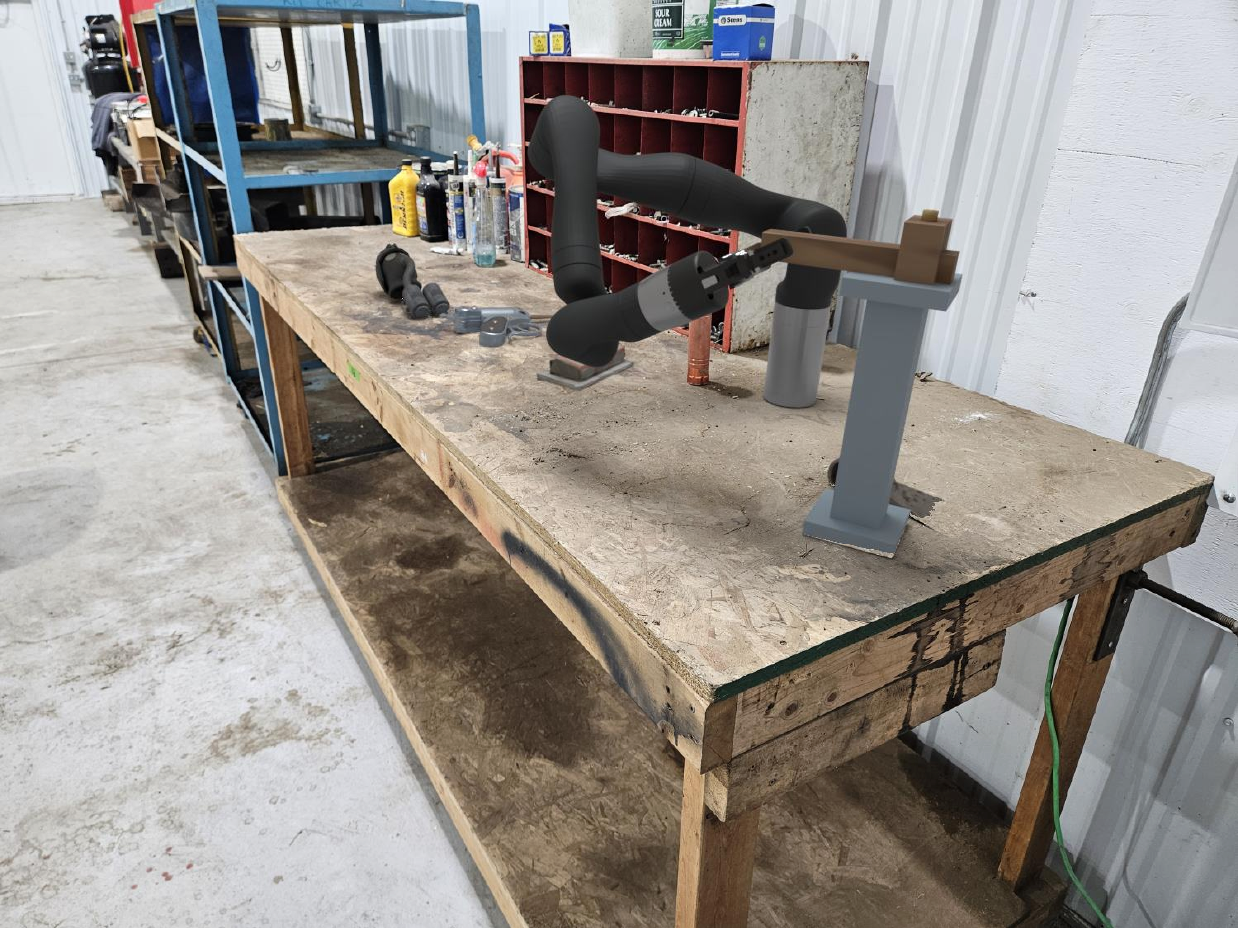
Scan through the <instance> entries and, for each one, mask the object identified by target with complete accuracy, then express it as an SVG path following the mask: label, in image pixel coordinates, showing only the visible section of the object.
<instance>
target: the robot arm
mask: <svg viewBox="0 0 1238 928" xmlns="http://www.w3.org/2000/svg"><path fill="white" fill-rule="evenodd" d="M599 121H600V120H599V118H598V115H597V114H596V112H595V110H594V109H593V108H592V107H591V105H590V104H589V103H587V101H585V100H583V99H582V98H580V97H577V96H575V95H569V94H563V95H558V96H556V97H553V98H552V99H551V100H549V101H548V102H547V104H546V105H544V107H543V109H542V111H541V112H540V114H539V116H538V118H537V121H536V125H535V128H534V130H533V132H532V135H531V138H530V140H529V143H528V146H527V147H528V148H527V157H528V160H529V162H530V164H531V166H532V168H533V169H535V171H536V172H537V173H538V174H539V175H541V176H543V177H544V178H546V179H547V180H550V181H552V182H554V194H553V195H554V197H553V207H552V208H553V209H552V220H551V232H550V255H551V257H550V258H551V269H552V279H553V283H552V284H553V288H554V293H555V294H556V295H557V297H558V299H560V300H561V301H562V302H563V303H564V304H566V305H564V306H562V307H561V308H560V309H558V310H556V312H555V313H554V314H552V315H553V316H552V318H549V322H548V323H547V326H546V331H545V337H546V341H547V344H548V346H549V347H550V348H549V349H551V350H552V352H554V353H555V354H557V355H560V356H562V357H565V358H567V359H570V360H573V361H576V362H579V363H581V364H584V365H587V366H590V367H602V366H605V365H607V364H608V363H609V362H610V361H611V360H612V359H613V358H614V356H615V355H616V352H617V350H618V346H619V343H620V342H624V343H638V342H641V341H644V340H646V339H649V338H650V337H653V336H656V335H659V334H660V333H662V332H665V331H668V330H673V329H675V328H679V327H682V326H684V325H687V324H689V323H691V322H694V321H696V320H699V319H701V318H704V317H705V316H709V315H710V314H712V313H716V312H719V311H720V310H722V309H724V308H725V307H726V306H727V304H728V303H729V298H730V291H731V290H733V289H735V288H737V287H740V286H742V285H743V284H745V283H748V282H750V280H751V279H754V278H755V276H757V275H759V274H761V273H763V272H766V271H768V270H769V269H771V267H772V265H774V264H776V263H780V262H779V261H781V260H783V259H785V258H788V257H790V256H791V255H792V254H793V249H792V246H791V244H790V241H789V239H788V238H787V237H783V238H780V239H778V240H776V241H774V242H772V243H769V244H767V245H765V246H763V247H761V241H760V242H757V243H755V244H753V245H750V246H748V247H746V248H743V249H742V250H741V249H735V250H734V251H732V252H730V253H728V254H726V255H725V254H724V255H723V256H721V257H719V258H717V259H716V257H715V256H714V255H713V254H711V253H710V252H708V251H706V250H698V251H696V252H694V253H692V254H690V255H688V256H686V257H684V258H682V259H680V260H677V261H675V262H673V263H671V264H668V265H667V266H664V267H663V268H661V269H658V270H657V271H654V272H653V273H652V274H650V275H648V276H647V277H645V278H644V279H642V280H641V281H638V282H636V283H634V284H631V285H630V286H628V287H625V288H623V289H622V290H619V291H618V292H614V293H610V294H609V293H608V291H607V288H606V286H605V283H604V274H603V273H604V271H603V263H602V261H603V260H602V252H601V242H600V233H599V231H600V230H599V218H598V215H599V214H598V213H599V212H598V193H599V194H603V195H606V196H607V195H608V196H611V197H616V198H618V199H622V200H625V201H628V202H631V203H634V204H638V205H640V206H644V207H647V208H650V209H652V210H655V211H656V210H657V211H659V212H662V213H663V214H664V213H665V214H666V215H669V216H672V217H675V218H677V219H680V220H683V221H687V222H689V223H692V224H696V225H700V226H704V227H709V228H714V229H720V230H726V231H727V230H728V231H736V232H741V233H744V234H748V235H749V236H753V237H756V238H758V239H760V240H761V238H762V232H765V231H767V230H769V229H775V230H784V231H792V232H801V233H809V234H818V235H826V236H835V237H843V238H848V230H847V229H848V228H847V224H846V221H845V219H844V217H843V215H842V214H841V213H840V212H839V211H838V210H837V209H835V208H833V207H831V206H828V204H827V205H826V204H823V203H821V202H819V201H816V200H811V199H806V198H805V199H804V198H801V197H800V198H799V197H795V196H791V195H786V194H783V193H779V192H775V191H771V190H767V189H765V188H762V187H760V186H758V185H756V184H754V183H752V182H751V181H749V180H747V179H745V178H743V177H742V176H740V175H738V174H736V173H734V172H733V171H730V170H728V169H726V168H724V167H722V166H719V165H717V164H715V163H712V162H710V161H707V160H704V159H702V158H698V157H696V156H692V155H690V154H686V153H682V152H659V153H647V154H646V153H645V154H644V153H643V154H622V153H617V152H612V151H609V150H606V149H604V148H600V138H601V127H600V126H601V124H600V122H599ZM786 264H787V265H786V271H785V276H784V279H783V280H781V281H780V282H779V283H778V284H777V286H776V288H775V294H774V295H775V296H774V304H773V305H774V306H773V312H772V321H771V322H772V323H771V330H770V336H769V347H768V355H767V365H766V370H765V376H764V378H765V379H764V385H763V387H764V388H763V398H764V400H766V401H768V403H769V402H770V403H771V404H774V405H777V406H780V407H786V408H805V407H810V406H813V405H814V404H816V402H817V396H818V392H819V391H818V390H819V384H820V379H821V371H822V365H823V358H824V352H825V347H826V346H825V344H826V340H827V339H826V338H827V333H828V327H829V326H828V324H829V317H830V313H831V305H832V301H833V300H832V299H833V296H834V295H835V292H836V290H837V289H838V286H839V283H840V278H841V274H842V273H841V272H842V270H836V269H829V268H821V267H814V266H807V265H799V264H792V263H786Z"/></svg>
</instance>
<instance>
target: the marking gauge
mask: <svg viewBox="0 0 1238 928" xmlns="http://www.w3.org/2000/svg"><path fill="white" fill-rule="evenodd" d="M939 214H940V211H939V210H936V209H922V213H921V215H918V214H914V215H912V216H911V217H909V218H908V219H906V220H905V221H904V222H903V227H902V232H901V238H900V243H893V242H886V241H885V242H884V241H876V240H875V241H874V240H867V239H859V238H850V237H847V238H843V237H835V236H826V235H818V234H809V233H801V232H792V231H784V230H775V229H769V230H767V231H765V232H762V238H761V239H760V240H761V241H760V242H761V247H763V246H765V245H767V244H769V243H772V242H774V241H776V240H778V239H780V238H783V237H787V238H788V239H789V241H790V244H791V246H792V249H793V254H792V255H791V256H790V257H788V258H785V259H783V260H781V261H779V262H778V263H785V264H788V263H792V264H799V265H807V266H814V267H821V268H829V269H836V270H841V271H844V272H850V271H851V272H859V273H866V274H873V275H881V276H888V277H894V280H896V281H903V282H910V283H918V284H925V285H932V286H933V285H934V283H940V284H947V285H950V284H951V282H952V281H953V280H954V276H955V273H956V270H957V265H958V261H959V256H960V253H961V252H960V250H953V249H952V250H951V249H948V244H949V239H950V235H951V231H952V230H951V229H952V225H953V220H954V219H953V218H949V217H948V218H947V217H939Z"/></svg>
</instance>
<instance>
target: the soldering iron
mask: <svg viewBox="0 0 1238 928" xmlns="http://www.w3.org/2000/svg"><path fill="white" fill-rule="evenodd" d="M553 315H554V314H530V313H529V312H528V311H526V310H524V309H522V308H520V307H516V306H499V307H498V306H497V307H496V306H495V307H493V306H489V307H487V306H486V307H482V306H481V307H478V306H476V305H472V306H467V305H460V306H458V307H457V306H456V307H454V313H453V315H452V314H448V315H446V314H445V313H442V314H440V315H439V318H440V319H441V320H443V319H446V320H449V321H450V320H451V321H453V323H452V324H453V330H454V331H455V332H456V333H457V334H462V335H467V334H470V333H479V334H478V335H479V337H478V338H479V339H478V341H479V345H481V346H483V347H484V348H485V347H486V348H500V347H502V346H504V345H505V342H506V337H507V339H508V340H509V341H510V342H511V341H512V342H513V341H514V339H513V338H512V337H513V336H518V337H536V336H540V335H541V334H542V330H543V328H542V326H540V325H539V324H536V323H533V322H531V320H545V319H546V320H547V319H549V320H550V319H551V318H552V316H553ZM530 328H531V329H536V330H537V331H530V330H529V329H530Z"/></svg>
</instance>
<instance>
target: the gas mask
mask: <svg viewBox="0 0 1238 928" xmlns="http://www.w3.org/2000/svg"><path fill="white" fill-rule="evenodd" d="M374 269H375V275H376V280H377V281H378V283H379V285H380V286H381V287H380V288H382V290H383V292H384V294H385V295H387V296H388V297H390V299H392V300H395V301H400V300H399V299H402V298H403V299H402V301H401V305H402V306H406V308H405V309H404V310H405V312H406V313H409V314H410V315H409V317H408V318H409V319H410V320H417V318H425V319H426V318H429V317H432V318H433V317H437V316H440V314H442V313H445V314H446V315H449V312H448V311H449V310H450V306H451V305H450V302H449V300H448V299H447V297H446V295H445V293H444V292H443V290H442V288H441V287H440V285H439V284H438V283H437V282H429V283H426V285H425V286H423V284H422V283H421V282H420V281H419V280H418V273H417V269H416V262H415V260H414V258H412V257H411V256H410V254H409V252H408V251H406V250H405V249H403V248H402V247H398V245H397V244H396V243H392V244H391V243H387V245H386V246H385V248H384V249H382V250H381V251H380V252H379V253H378V255H377V256H376V261H375V268H374ZM422 287H423V288H422Z"/></svg>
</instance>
